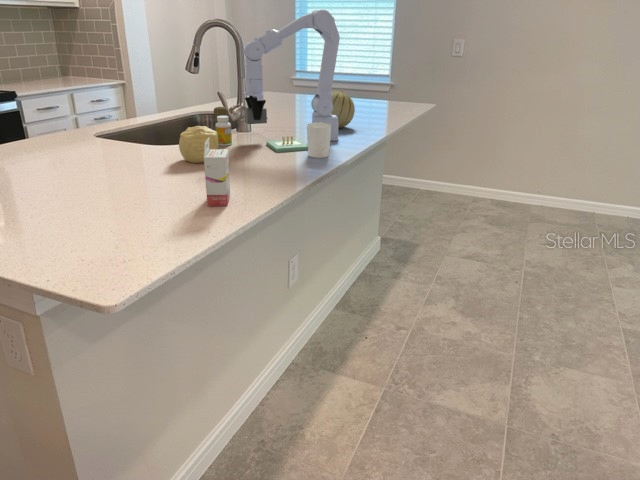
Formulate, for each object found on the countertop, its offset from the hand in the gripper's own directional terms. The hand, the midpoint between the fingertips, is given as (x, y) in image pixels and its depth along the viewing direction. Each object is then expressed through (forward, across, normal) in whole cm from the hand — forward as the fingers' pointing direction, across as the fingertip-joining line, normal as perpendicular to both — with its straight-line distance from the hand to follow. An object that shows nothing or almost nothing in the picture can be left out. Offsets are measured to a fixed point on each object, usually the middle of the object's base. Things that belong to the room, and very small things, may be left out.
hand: (255, 118), depth 177 cm
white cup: (+8, +27, +14) cm, 31 cm away
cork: (+8, -12, -10) cm, 18 cm away
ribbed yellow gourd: (+8, -16, +39) cm, 43 cm away
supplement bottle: (+8, +1, -12) cm, 15 cm away
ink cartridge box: (+8, +61, -26) cm, 67 cm away
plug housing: (+1, 0, 0) cm, 1 cm away
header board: (+8, +12, +8) cm, 17 cm away
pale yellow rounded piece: (+8, +21, -24) cm, 33 cm away
